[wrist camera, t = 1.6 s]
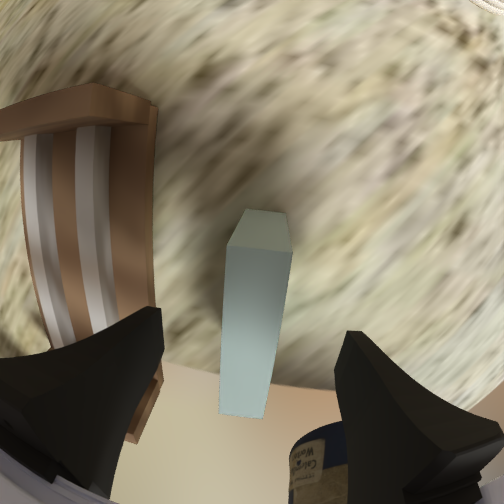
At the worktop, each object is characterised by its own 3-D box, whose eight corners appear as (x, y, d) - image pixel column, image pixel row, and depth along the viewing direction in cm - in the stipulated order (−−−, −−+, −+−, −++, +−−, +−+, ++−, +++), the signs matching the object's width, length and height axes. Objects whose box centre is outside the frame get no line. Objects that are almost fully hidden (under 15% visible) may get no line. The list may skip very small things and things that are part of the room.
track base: (164, 382, 19) (137, 444, 13) (60, 351, 19) (23, 394, 14) (158, 104, 13) (93, 82, 7) (32, 121, 13) (-35, 124, 7)
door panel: (267, 342, 17) (262, 419, 11) (234, 338, 17) (218, 413, 11) (285, 212, 14) (292, 252, 9) (246, 208, 14) (226, 245, 9)
